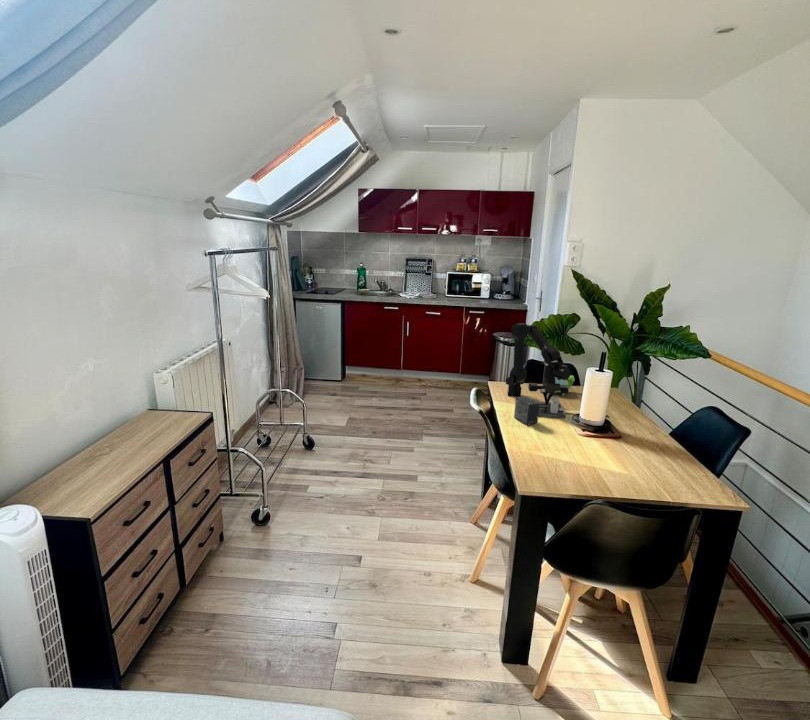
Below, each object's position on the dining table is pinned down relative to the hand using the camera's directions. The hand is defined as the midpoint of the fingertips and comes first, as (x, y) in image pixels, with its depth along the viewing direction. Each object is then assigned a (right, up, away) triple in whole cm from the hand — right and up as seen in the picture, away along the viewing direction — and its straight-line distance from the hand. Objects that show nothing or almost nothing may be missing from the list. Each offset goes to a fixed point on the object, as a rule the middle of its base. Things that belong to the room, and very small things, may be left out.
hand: (546, 404), depth 232 cm
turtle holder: (+14, +4, +28) cm, 31 cm away
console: (0, -3, -1) cm, 3 cm away
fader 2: (+1, -3, -8) cm, 9 cm away
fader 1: (+4, -1, 0) cm, 4 cm away
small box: (-14, -7, -15) cm, 22 cm away
